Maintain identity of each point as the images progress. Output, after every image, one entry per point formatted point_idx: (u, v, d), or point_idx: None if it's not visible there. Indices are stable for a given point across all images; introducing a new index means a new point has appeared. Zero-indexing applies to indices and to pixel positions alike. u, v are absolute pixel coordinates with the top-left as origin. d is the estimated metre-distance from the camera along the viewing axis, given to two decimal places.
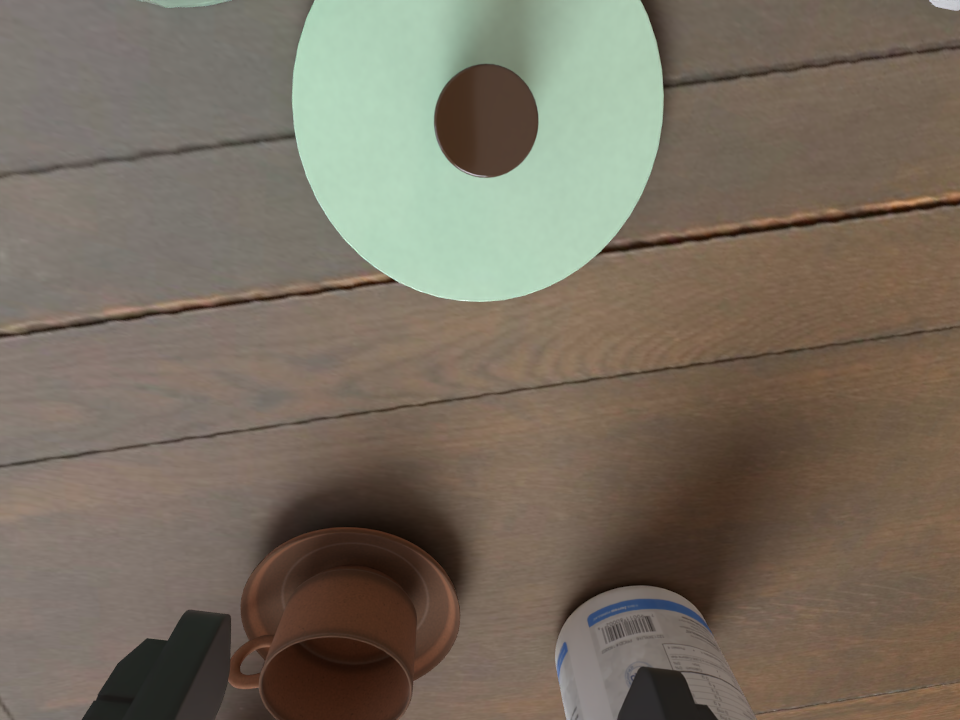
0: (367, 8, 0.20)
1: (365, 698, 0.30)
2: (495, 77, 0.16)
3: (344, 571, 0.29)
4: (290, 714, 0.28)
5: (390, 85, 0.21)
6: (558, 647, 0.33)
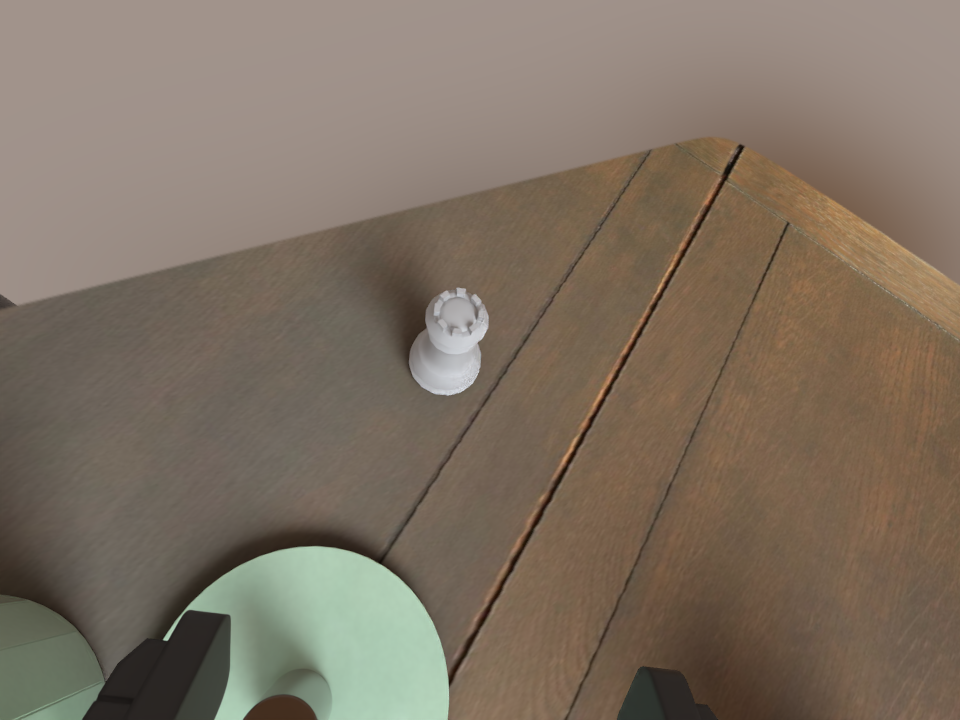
0: None
1: None
2: (259, 713, 0.22)
3: None
4: None
5: None
6: None
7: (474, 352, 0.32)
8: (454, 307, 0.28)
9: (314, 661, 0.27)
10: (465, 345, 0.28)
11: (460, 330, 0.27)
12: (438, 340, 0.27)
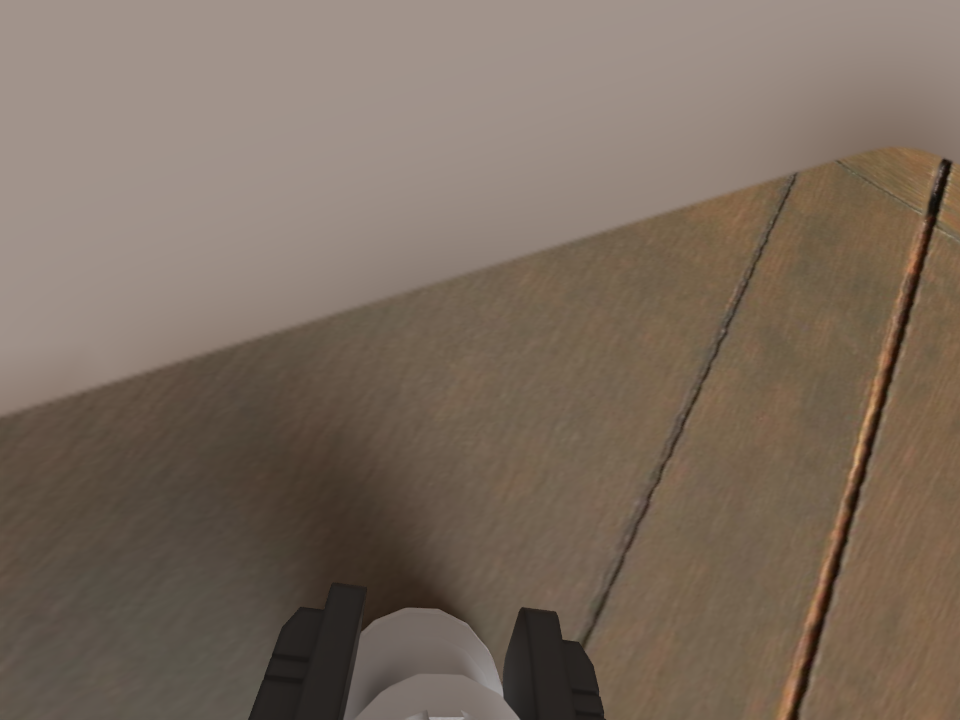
0: None
1: None
2: None
3: None
4: None
5: None
6: None
7: None
8: None
9: None
10: None
11: None
12: None
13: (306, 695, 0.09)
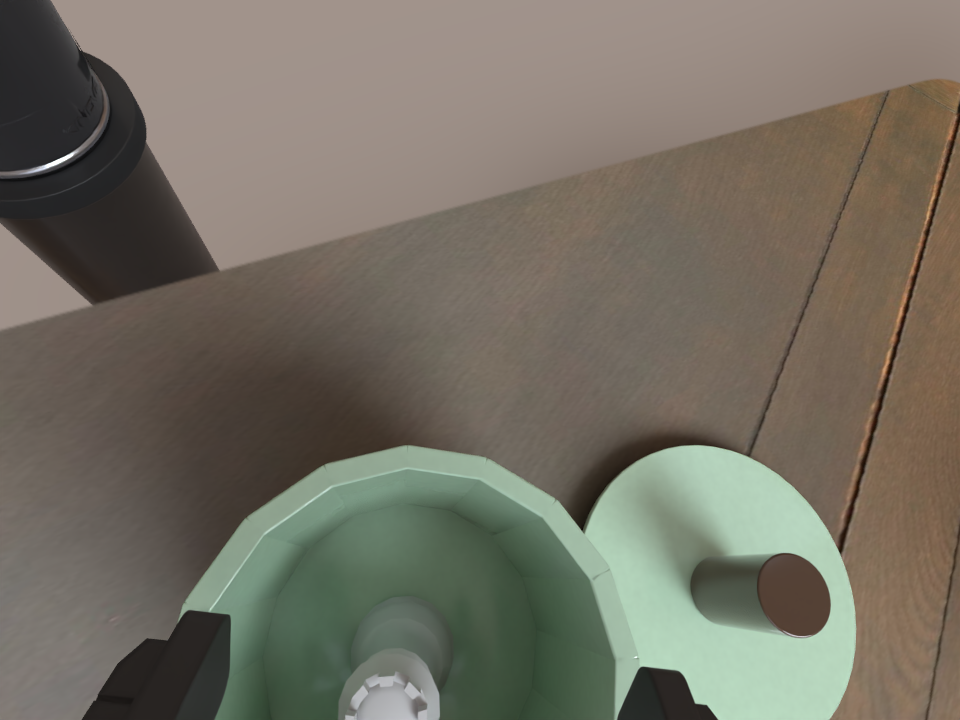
0: None
1: None
2: (772, 568, 0.22)
3: None
4: None
5: (664, 633, 0.26)
6: None
7: (438, 663, 0.22)
8: (379, 707, 0.17)
9: (723, 550, 0.28)
10: None
11: None
12: None
13: None
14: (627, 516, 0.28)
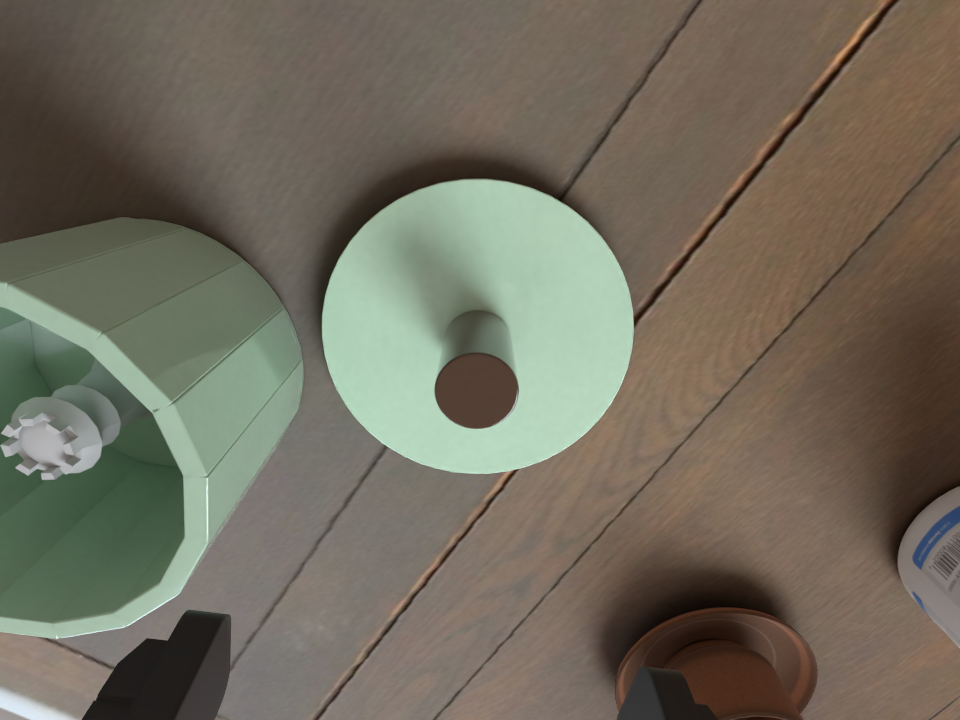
0: (359, 353, 0.26)
1: None
2: (456, 367, 0.20)
3: (676, 663, 0.32)
4: None
5: (409, 375, 0.26)
6: (912, 596, 0.31)
7: None
8: (34, 438, 0.20)
9: (491, 304, 0.25)
10: (80, 470, 0.21)
11: (50, 475, 0.20)
12: None
13: None
14: (381, 263, 0.24)
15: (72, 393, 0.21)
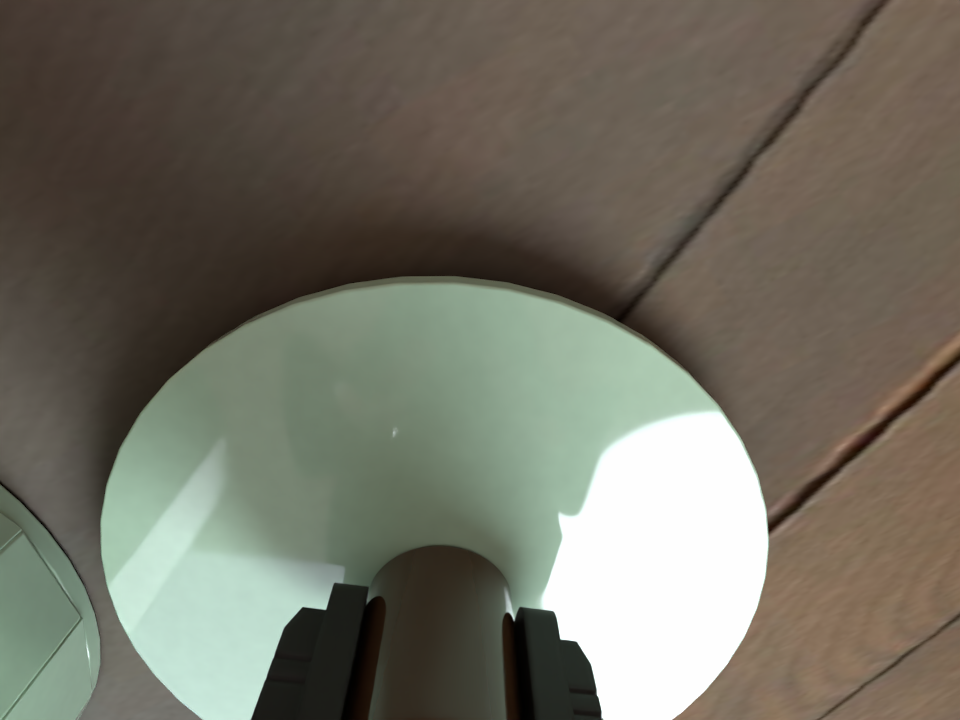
0: (191, 619, 0.12)
1: None
2: None
3: None
4: None
5: None
6: None
7: None
8: None
9: (468, 534, 0.12)
10: None
11: None
12: None
13: (309, 695, 0.09)
14: (218, 458, 0.11)
15: None
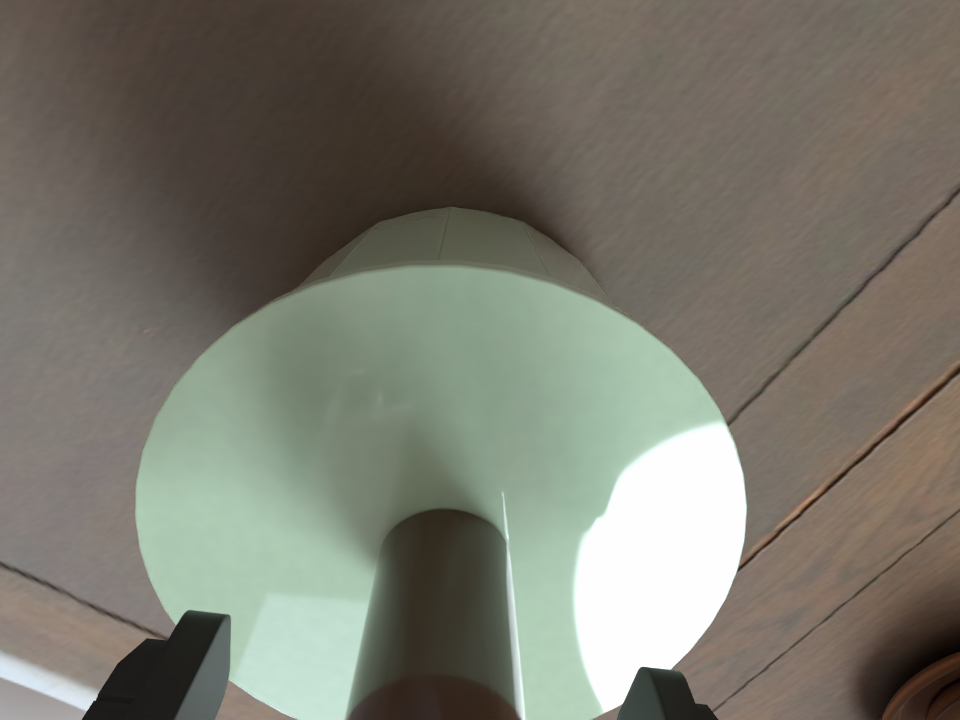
0: (216, 579, 0.14)
1: None
2: None
3: None
4: None
5: (317, 612, 0.14)
6: None
7: None
8: None
9: (471, 498, 0.13)
10: None
11: None
12: None
13: None
14: (243, 427, 0.12)
15: None
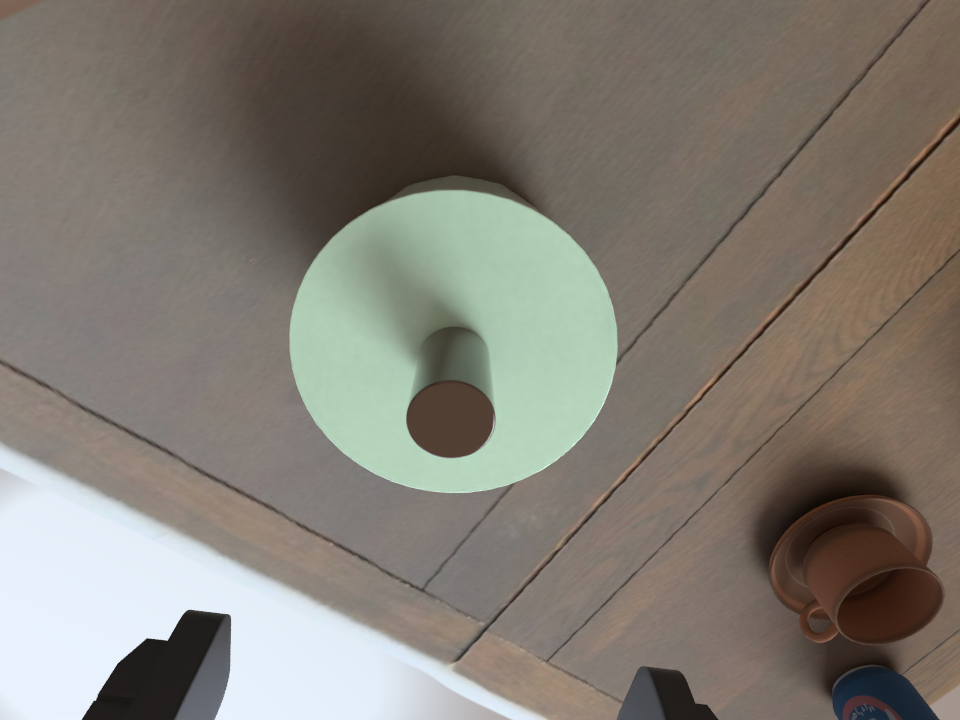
0: (329, 370, 0.25)
1: (904, 601, 0.41)
2: (429, 396, 0.19)
3: (825, 540, 0.41)
4: (868, 637, 0.40)
5: (383, 393, 0.25)
6: None
7: None
8: None
9: (468, 320, 0.24)
10: None
11: None
12: None
13: None
14: (351, 277, 0.23)
15: None
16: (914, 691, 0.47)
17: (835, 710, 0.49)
